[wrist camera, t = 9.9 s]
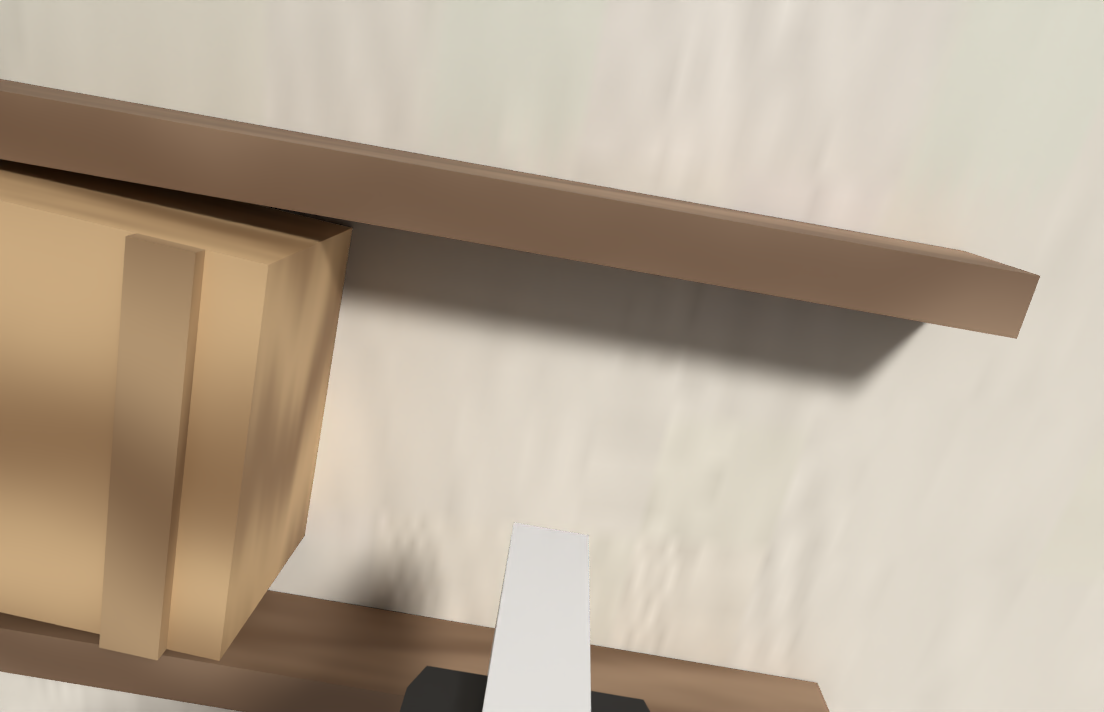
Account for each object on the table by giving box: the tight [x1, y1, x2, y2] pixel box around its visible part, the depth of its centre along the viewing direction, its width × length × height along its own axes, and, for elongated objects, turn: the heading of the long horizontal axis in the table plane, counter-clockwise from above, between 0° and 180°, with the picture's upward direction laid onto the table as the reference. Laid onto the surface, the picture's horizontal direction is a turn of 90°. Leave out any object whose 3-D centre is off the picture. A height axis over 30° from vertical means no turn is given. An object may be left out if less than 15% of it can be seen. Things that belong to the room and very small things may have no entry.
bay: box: [0, 79, 1040, 712], centre depth 18 cm, size 20×31×7 cm, turn 80°
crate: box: [0, 159, 352, 661], centre depth 19 cm, size 10×10×6 cm
